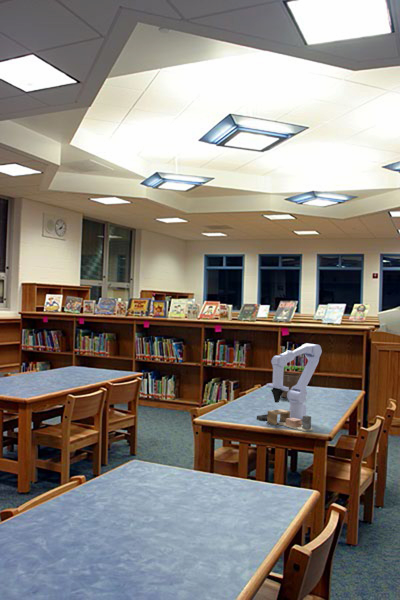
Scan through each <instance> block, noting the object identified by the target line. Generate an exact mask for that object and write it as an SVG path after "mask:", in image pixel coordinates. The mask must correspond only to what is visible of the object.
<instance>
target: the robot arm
mask: <svg viewBox="0 0 400 600" xmlns="http://www.w3.org/2000/svg"><path fill="white" fill-rule="evenodd" d="M322 353H323V351H322V347H321V345H320V344H314V343H308V342H306V343H304V344H301V346H299V347H297V348H296V349H294V350H288V349H287V350H286V351H285V352H283V353H279V355H273V357H272V358H271V360H270V363H271V365H272V383H266V388H271V389H270V391H271V393H272V396H273V399H274V400H273V401H274V403H276V404H277V403H280V399H281V398H282V397H281V395H282V393H283V392H284V391H288V393H287V398H286V399H287V400H288V402H289V410H288V411H290V418H296V419H300V420H303V416H306V415H307V405H306V403H305V402H306V398H307V394H308V391H307V387H308V384H309V383H310V381H311V378H312V376H313V375H314V372H315V370H316V368H317V366H318V364H319V361H320V357H321V354H322ZM301 355H305V358H306V359H307V362H306V365H305V367H304V368H303V370H302V373H301V374H300V375H301V377H300V379H299V381H298V383H297V384H296V385H295V386H293V387H292V388H291V390H289V387H285V386H283V373H285V372H284V367H285V366H286V365H287V364H288V363H290V362H292V361H294V360H295V359H296V358H295V357H298V356H301Z"/></svg>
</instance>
